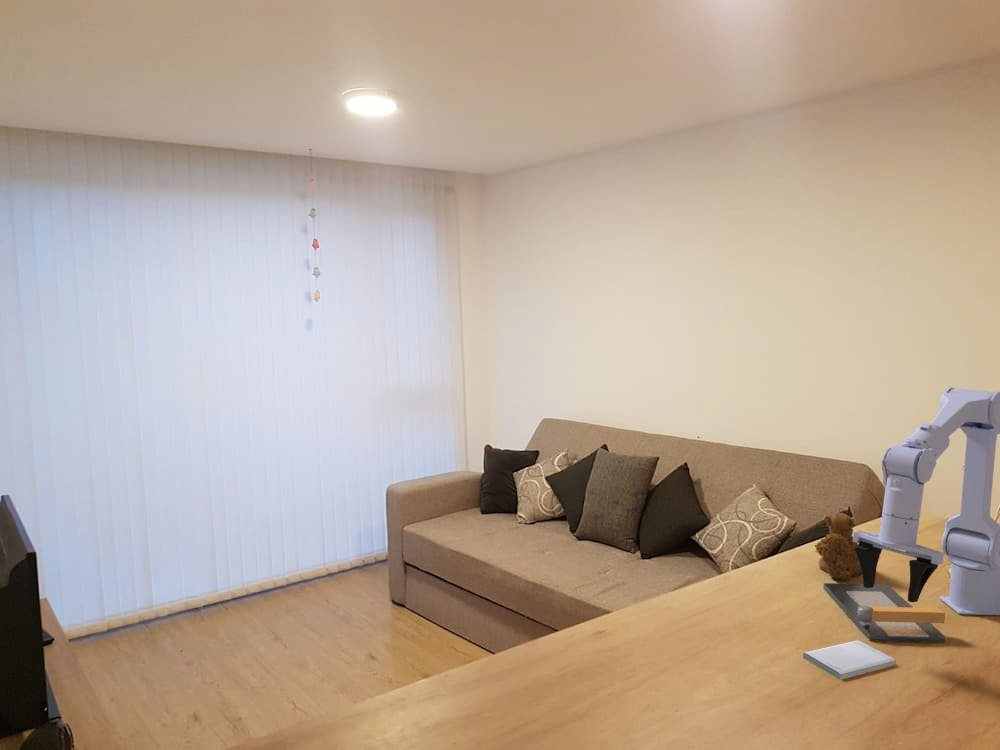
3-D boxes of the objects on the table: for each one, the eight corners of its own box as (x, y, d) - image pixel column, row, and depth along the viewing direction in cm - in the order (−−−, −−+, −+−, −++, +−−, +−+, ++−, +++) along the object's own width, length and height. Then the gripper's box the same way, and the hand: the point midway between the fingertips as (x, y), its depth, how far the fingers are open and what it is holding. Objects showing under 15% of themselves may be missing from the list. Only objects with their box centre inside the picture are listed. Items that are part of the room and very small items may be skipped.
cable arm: (860, 621, 138) (861, 611, 138) (855, 615, 141) (855, 605, 141) (945, 624, 137) (945, 613, 137) (938, 617, 140) (938, 607, 139)
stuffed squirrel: (868, 568, 172) (871, 511, 170) (859, 589, 160) (862, 528, 158) (821, 560, 177) (823, 505, 176) (809, 579, 165) (811, 521, 164)
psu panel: (887, 590, 159) (887, 579, 159) (946, 643, 135) (946, 631, 135) (821, 588, 160) (822, 578, 160) (868, 641, 136) (869, 629, 136)
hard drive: (840, 673, 123) (896, 658, 127) (802, 651, 130) (856, 638, 135) (840, 683, 123) (895, 668, 128) (802, 660, 130) (856, 647, 135)
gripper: (848, 506, 134) (837, 582, 134) (933, 527, 122) (922, 610, 122) (868, 506, 138) (858, 580, 138) (953, 526, 126) (942, 606, 127)
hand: (890, 594), depth 131 cm, fingers open, 7 cm apart
